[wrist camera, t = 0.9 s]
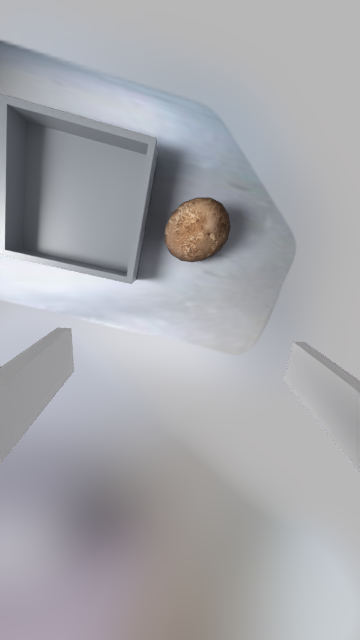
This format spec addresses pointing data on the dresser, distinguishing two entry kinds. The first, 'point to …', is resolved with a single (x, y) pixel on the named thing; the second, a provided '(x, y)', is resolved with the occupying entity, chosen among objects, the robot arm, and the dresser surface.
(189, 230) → the mushroom
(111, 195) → the tray
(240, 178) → the dresser surface
